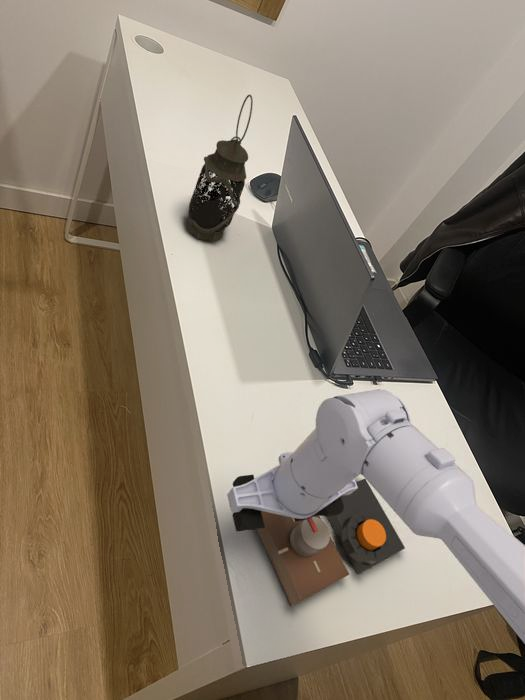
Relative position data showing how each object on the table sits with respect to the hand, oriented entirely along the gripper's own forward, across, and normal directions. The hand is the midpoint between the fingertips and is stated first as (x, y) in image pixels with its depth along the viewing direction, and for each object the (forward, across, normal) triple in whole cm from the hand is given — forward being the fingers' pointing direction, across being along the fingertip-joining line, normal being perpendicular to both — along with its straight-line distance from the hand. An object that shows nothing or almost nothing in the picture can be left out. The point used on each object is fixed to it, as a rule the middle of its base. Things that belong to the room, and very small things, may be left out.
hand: (266, 517), depth 58 cm
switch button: (+5, -16, +3) cm, 17 cm away
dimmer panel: (+9, -7, +2) cm, 11 cm away
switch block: (+9, -18, +1) cm, 20 cm away
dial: (+6, -7, +2) cm, 9 cm away
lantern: (+9, -8, -61) cm, 62 cm away
